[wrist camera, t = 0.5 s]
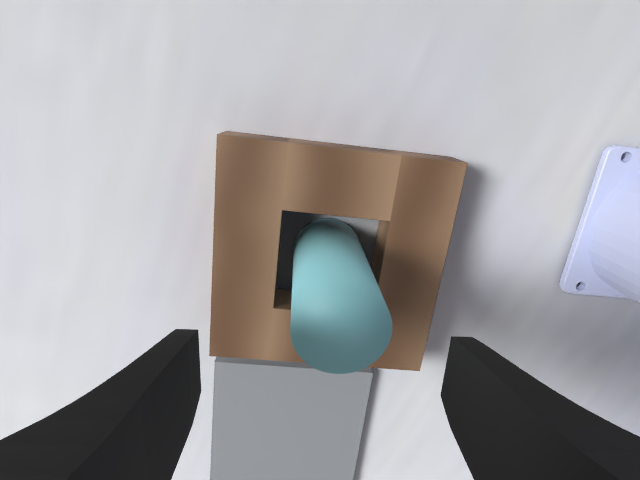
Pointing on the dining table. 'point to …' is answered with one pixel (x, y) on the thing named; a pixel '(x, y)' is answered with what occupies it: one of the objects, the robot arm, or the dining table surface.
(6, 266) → the dining table surface
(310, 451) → the pad
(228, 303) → the holder
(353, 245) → the peg
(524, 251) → the dining table surface
